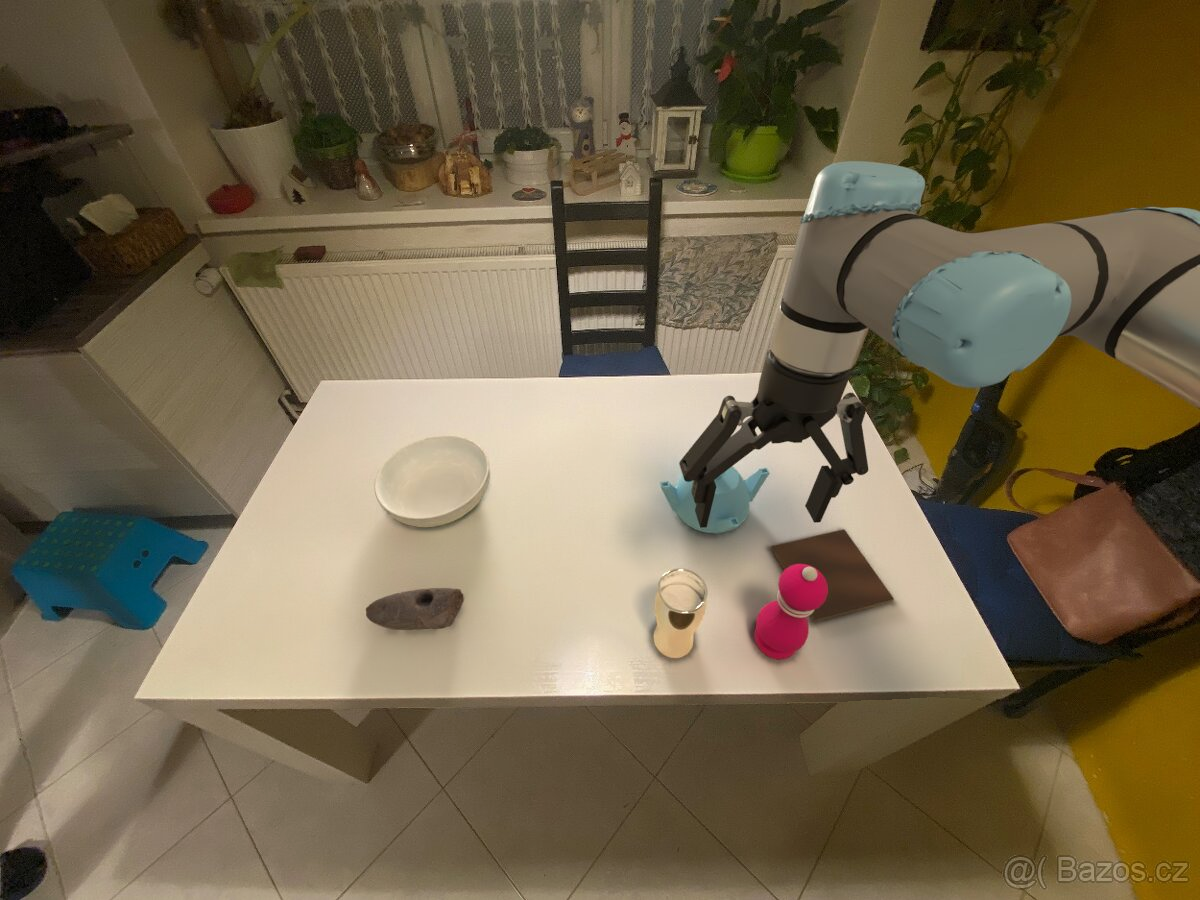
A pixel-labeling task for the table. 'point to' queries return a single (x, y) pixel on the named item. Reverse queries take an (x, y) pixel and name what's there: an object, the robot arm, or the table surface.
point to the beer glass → (678, 611)
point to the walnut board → (836, 572)
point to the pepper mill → (790, 611)
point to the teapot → (717, 500)
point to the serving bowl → (433, 480)
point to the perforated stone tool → (416, 609)
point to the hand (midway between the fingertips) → (757, 516)
